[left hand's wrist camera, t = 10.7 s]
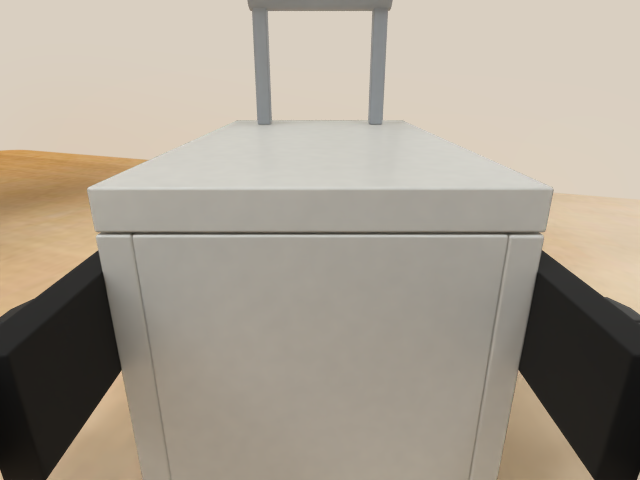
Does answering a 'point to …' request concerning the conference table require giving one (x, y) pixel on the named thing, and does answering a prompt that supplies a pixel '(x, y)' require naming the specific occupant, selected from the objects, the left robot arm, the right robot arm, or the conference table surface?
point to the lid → (320, 169)
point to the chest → (320, 351)
